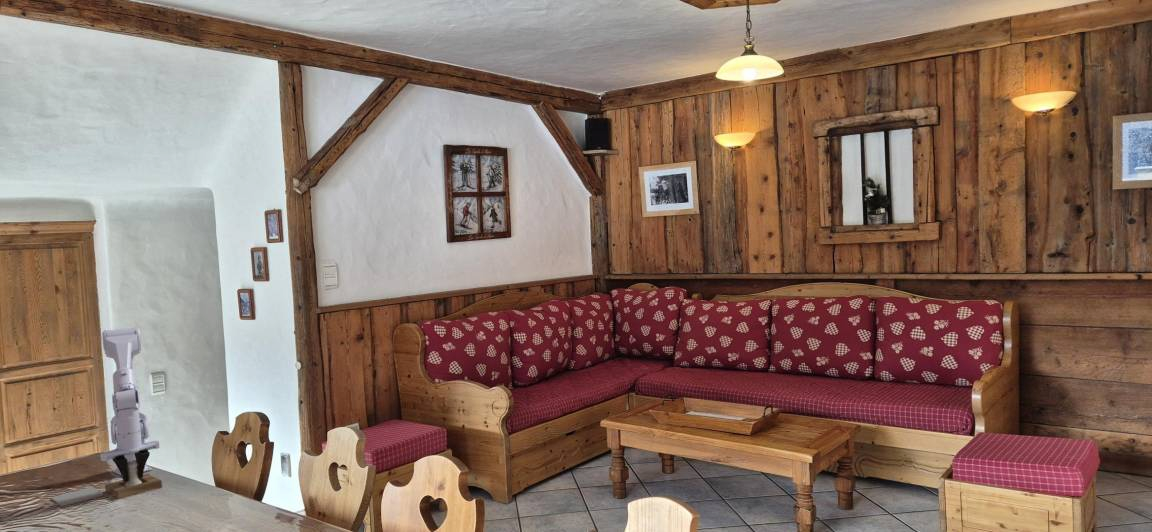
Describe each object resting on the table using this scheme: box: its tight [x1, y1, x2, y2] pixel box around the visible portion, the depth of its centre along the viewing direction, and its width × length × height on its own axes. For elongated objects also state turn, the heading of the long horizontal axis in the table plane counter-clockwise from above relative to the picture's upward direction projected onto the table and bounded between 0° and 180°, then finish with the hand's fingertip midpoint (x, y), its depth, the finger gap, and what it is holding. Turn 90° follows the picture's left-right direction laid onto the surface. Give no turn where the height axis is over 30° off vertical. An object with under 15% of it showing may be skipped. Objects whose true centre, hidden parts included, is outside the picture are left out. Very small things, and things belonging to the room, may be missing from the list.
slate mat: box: [50, 486, 104, 508], centre depth 210 cm, size 10×10×1 cm
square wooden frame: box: [104, 473, 163, 500], centre depth 214 cm, size 11×11×2 cm
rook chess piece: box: [125, 460, 142, 487], centre depth 214 cm, size 4×4×8 cm
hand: (133, 479), depth 214 cm, fingers closed on rook chess piece, 3 cm apart
